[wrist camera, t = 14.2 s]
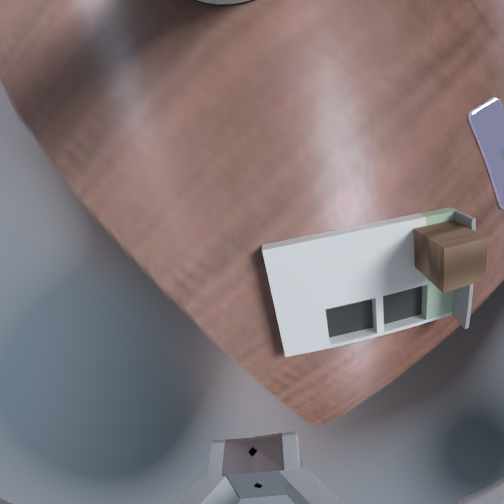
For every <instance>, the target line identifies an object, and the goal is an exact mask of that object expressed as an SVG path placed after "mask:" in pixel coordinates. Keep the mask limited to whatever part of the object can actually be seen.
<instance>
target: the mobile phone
mask: <svg viewBox="0 0 504 504" xmlns="http://www.w3.org/2000/svg"><path fill="white" fill-rule="evenodd" d="M468 121H469V124H470V126H471V128H472V131H473V133H474V135H475V138H476V140H477V143H478V145H479V148H480V150H481V153H482V156H483V158H484V161H485V164H486V167H487V170H488V173H489V175H490V179H491V182H492V185H493V188H494V192H495V194H496V198H497V201H498V204H499V207H500V208H501V209H504V108H503V106H502V104H501V102H500V100H499V99H498V98H495V97H494V98H491V99H490V100H488V101H486V102H485V103H483V104H481V105H480V106H478V107H476V108H475V109H473V110H471V111H470V112H469V114H468Z"/></svg>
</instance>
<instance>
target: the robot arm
mask: <svg viewBox="0 0 504 504" xmlns="http://www.w3.org/2000/svg"><path fill="white" fill-rule="evenodd" d="M198 1H202V2H206V3H212V4H235V3H242V2H246V1H250V0H198ZM276 495H288V497H289V498H290V499H291V500H292V501H293V502H294V503H295V504H344V503H343V502H342V501H341V500H340V499H339V498H338V497H337V496H336V495H334V494H333V493H332V492H331V491H330V490H329V489H328V488H327V487H325V486H324V485H323V484H322V483H321V482H320V481H319V480H318V479H317V478H316V477H314V475H312V474H311V473H310V472H309V471H308V470H307V469H306V468H305V467H304V466H303V459H302V453H301V447H300V443H299V439H298V433H297V431H293V432H287V433H279V434H272V435H266V436H258V437H254V438H243V439H229V440H213V441H212V443H211V446H210V453H209V460H208V467H207V473H206V476H203V477H201V478H200V479H199V481H197V482H196V483H195V484H194V486H193V487H192V488H191V489H190V490H189V491H188V492H187V493H186V494H185V495H184V496H183V497H182V498H181V499H180V500H179V501H178V502H177V503H176V504H238V502H239V501H240V499H241V498H242V499H243V498H253V497H263V496H276ZM0 504H11V503H9V502H7V501H5V500H3V499H1V498H0ZM454 504H504V478H503V479H501V480H499V481H498V482H496V483H494V484H492V485H490V486H488V487H486V488H485V489H483V490H481V491H479V492H477V493H475V494H473V495H471V496H469V497H467V498H465V499H462V500H460V501H458V502H456V503H454Z"/></svg>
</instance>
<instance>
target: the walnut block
mask: <svg viewBox="0 0 504 504" xmlns="http://www.w3.org/2000/svg"><path fill="white" fill-rule="evenodd" d="M413 235H414V258H415V268H416V269H417V270H419V271H420V272H421V273H422V274H423V275H424V276H425V277H426V278H427V279H428V280H430V281H431V282H432V283H433V284H434V285H435V286H436V287H437V288H438V289H439V290H440V291H441V292H443V293H445V292H448V291H452V290H455V289H458V288H461V287H465V286H468V285H471V284H474V283H477V282H480V281H483V280H485V271H486V256H487V237H485V236H483V235H481V234H479V233H478V232H476V231H474V230H472V229H470V228H468V227H466V226H464V225H462V224H460V223H458V222H456V221H454V220H451V221H446V222H442V223H437V224H432V225H427V226H423V227H418V228H413Z"/></svg>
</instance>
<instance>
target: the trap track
mask: <svg viewBox="0 0 504 504" xmlns="http://www.w3.org/2000/svg"><path fill="white" fill-rule="evenodd" d="M451 220H454V221H456V222H458V223H460V224H462V225H464V226H466V227H468V228H470V229H472V230H474V231H476V218H474V217H472V216H470V215H467V214H465V213H463V212H460V211H458V210H456V209H453V208H451V207H448V208H443V209H438V210H433V211H428V212H423V213H418V214H413V215H408V216H403V217H398V218H393V219H388V220H383V221H378V222H373V223H368V224H363V225H358V226H353V227H348V228H343V229H338V230H333V231H328V232H323V233H318V234H313V235H308V236H303V237H298V238H294V239H289V240H284V241H279V242H274V243H269V244H264V245H262V253H263V257H264V262H265V266H266V271H267V275H268V280H269V284H270V289H271V293H272V298H273V303H274V307H275V312H276V316H277V321H278V325H279V330H280V335H281V339H282V344H283V349H284V353H285V357H289V356H294V355H299V354H304V353H309V352H314V351H319V350H323V349H328V348H333V347H337V346H341V345H346V344H350V343H354V342H358V341H362V340H366V339H370V338H374V337H378V336H382V335H386V334H389V333H393V332H397V331H400V330H404V329H407V328H411V327H414V326H418V325H421V324H424V323H427V322H431V321H434V320H437V319H440V318H443V317H446V316H449V315H452V316H453V317H454V318H455V319H456V320H457V321H458V322H459V323H460V324H461V325H462V326H463V327H464V328H465V329H466V328H469V321H470V313H471V305H472V295H473V284H471V285H468V286H465V287H461V288H458V289H455V290H452V291H448V292H445V293H443V292H441V291H440V290H439V289H438V288H437V287H436V286H435V285H434V284H433V283H432V282H431V281H430V280H428V279H427V278H426V277H425V276H424V275H423V274H422V273H421V272H420V271H419V270H417V269H416V268H415V258H414V235H413V228H418V227H423V226H427V225H432V224H437V223H442V222H446V221H451Z"/></svg>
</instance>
